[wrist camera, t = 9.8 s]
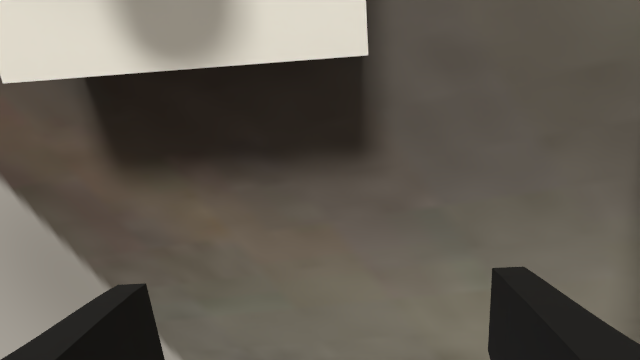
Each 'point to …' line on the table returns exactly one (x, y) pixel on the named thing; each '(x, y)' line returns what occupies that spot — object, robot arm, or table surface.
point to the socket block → (171, 35)
